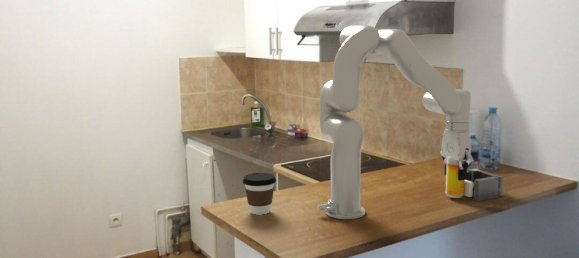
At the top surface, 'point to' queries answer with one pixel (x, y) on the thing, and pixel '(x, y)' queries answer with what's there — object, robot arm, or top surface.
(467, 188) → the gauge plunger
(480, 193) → the gauge frame
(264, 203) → the coffee cup
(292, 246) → the top surface
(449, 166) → the beer can
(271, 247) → the top surface
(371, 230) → the top surface
